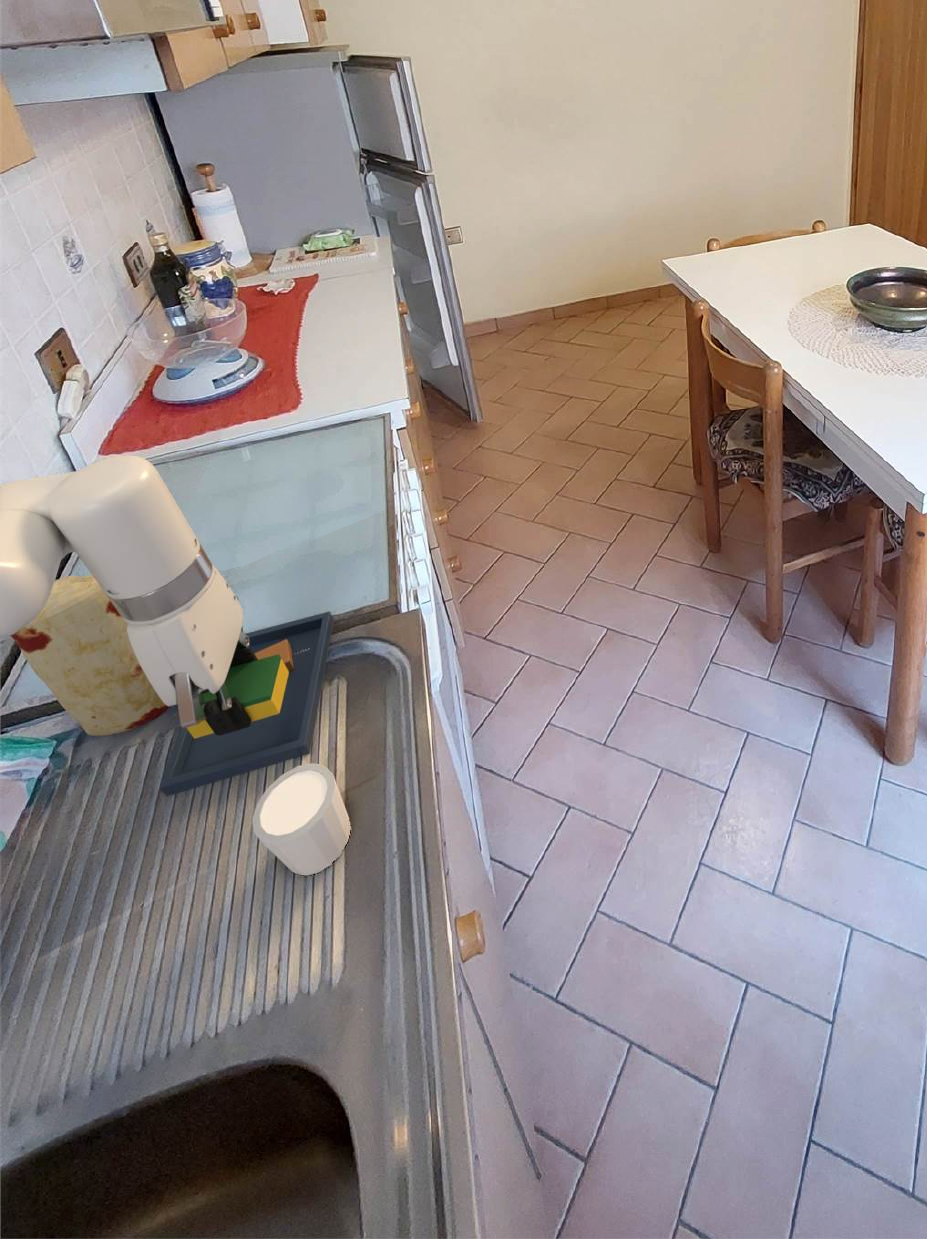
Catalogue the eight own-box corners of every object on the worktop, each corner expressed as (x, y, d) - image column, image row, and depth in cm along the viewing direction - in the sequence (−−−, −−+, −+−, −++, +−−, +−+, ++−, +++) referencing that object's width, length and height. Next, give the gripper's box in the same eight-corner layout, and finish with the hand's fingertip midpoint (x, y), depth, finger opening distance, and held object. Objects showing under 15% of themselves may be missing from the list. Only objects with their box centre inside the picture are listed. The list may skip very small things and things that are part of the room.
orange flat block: (260, 684, 83) (255, 676, 82) (258, 661, 86) (253, 653, 85) (294, 668, 84) (289, 660, 84) (291, 646, 87) (286, 638, 86)
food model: (88, 762, 77) (-16, 637, 67) (94, 713, 82) (-2, 590, 73) (192, 712, 81) (108, 587, 72) (192, 668, 86) (113, 546, 77)
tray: (168, 799, 73) (159, 787, 72) (217, 654, 88) (210, 642, 87) (311, 756, 75) (304, 744, 74) (335, 622, 90) (330, 610, 89)
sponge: (194, 739, 72) (180, 721, 71) (208, 694, 76) (196, 676, 75) (279, 713, 74) (268, 695, 72) (289, 671, 78) (279, 653, 76)
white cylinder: (283, 821, 70) (256, 780, 67) (358, 791, 72) (336, 750, 68) (276, 898, 64) (246, 857, 61) (357, 864, 66) (332, 822, 63)
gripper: (150, 526, 72) (225, 645, 81) (74, 673, 58) (175, 798, 67) (231, 507, 74) (296, 626, 83) (176, 645, 59) (262, 771, 68)
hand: (241, 701), depth 75 cm, fingers closed on sponge, 5 cm apart
